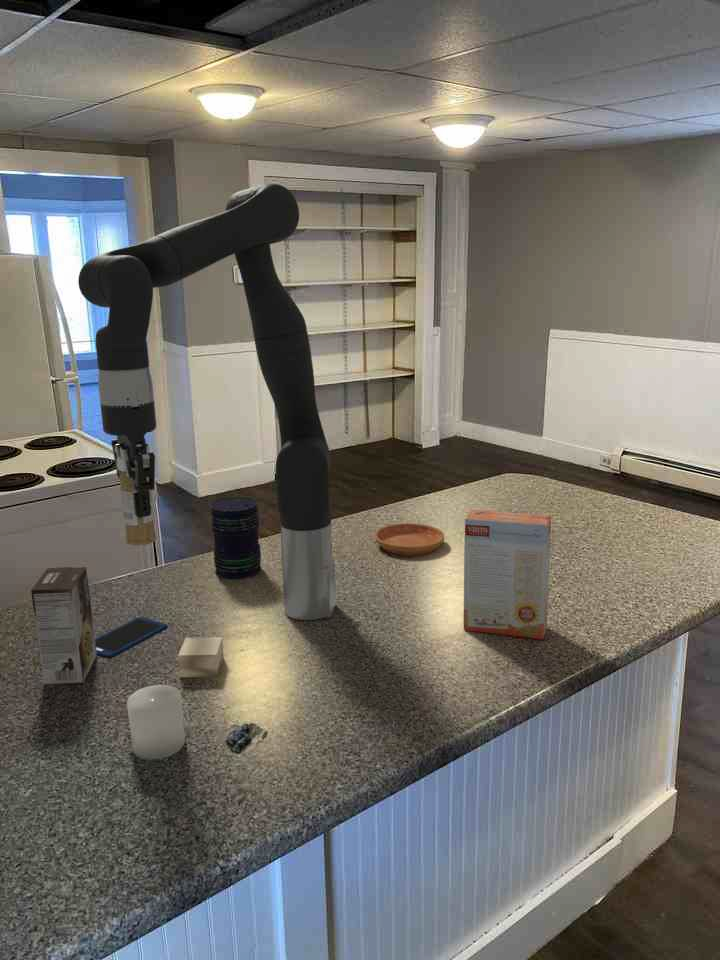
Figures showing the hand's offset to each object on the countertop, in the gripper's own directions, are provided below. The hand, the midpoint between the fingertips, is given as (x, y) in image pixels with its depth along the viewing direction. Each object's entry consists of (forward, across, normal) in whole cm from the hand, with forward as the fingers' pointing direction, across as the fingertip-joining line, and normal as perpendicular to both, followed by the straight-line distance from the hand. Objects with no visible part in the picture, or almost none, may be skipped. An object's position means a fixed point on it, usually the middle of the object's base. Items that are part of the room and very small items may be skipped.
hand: (138, 511), depth 118 cm
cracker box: (+28, +19, +57) cm, 66 cm away
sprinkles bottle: (+5, 0, 0) cm, 5 cm away
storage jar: (+27, -33, +29) cm, 52 cm away
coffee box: (+27, -9, -11) cm, 31 cm away
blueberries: (+28, +25, +4) cm, 38 cm away
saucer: (+28, -25, +68) cm, 78 cm away
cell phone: (+28, -16, 0) cm, 32 cm away
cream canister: (+27, +19, -6) cm, 34 cm away
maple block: (+27, +2, +7) cm, 28 cm away
